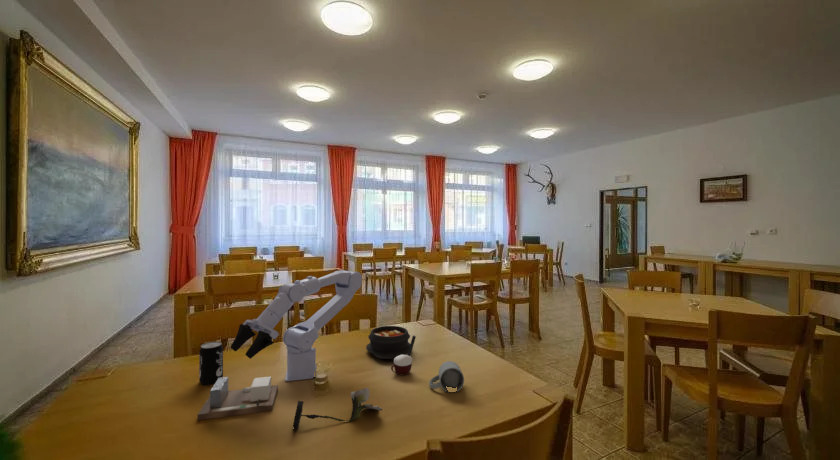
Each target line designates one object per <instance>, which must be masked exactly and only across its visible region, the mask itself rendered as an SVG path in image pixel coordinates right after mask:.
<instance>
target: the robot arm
mask: <svg viewBox="0 0 840 460" xmlns="http://www.w3.org/2000/svg"><path fill="white" fill-rule="evenodd" d="M334 284H335V285H334ZM362 284H363V276H362V274H361V273H360V272H359V271H350V270H344V269H340V270H334V272H331V273H329V274H326V275H323V276H321V277H318V278H317V277H316V276H313V275H309V276H306V278H303V279H301V280H299V279H297V280H294V282H293V283H292V282H286V283H284V284H283V285H280V286H279V288H278V293H277V294H276V295H275V297H274V299H273V300H272V301H271V302H270V303H269V305H268V306H267V307H266V308H265V309H264V310H263V311H262V312H261V313H260V315H259V316H258V317H257V318H253V319H246V320H245V321H244V322H243V323H240V324H239V325H238V327H239V328H238V330H237V333H236V336H235V338H234V339H233V342H232V343H231V345H230V350H232V351H234V352H237V351H238V350H239V349H241V347H242V346H243V345H244V344H245V343H247V341H249V340H250V339H251V338H253V337H255V336H256V337H255V339H254V340H253V342H252V344H250V346H249V348H248V349H247V351H246V352H245V354H244V355H245V356H246V357H247V358H248V359H252V358H254V357H255V356H256V355H257V354H258V353H260V352H261V351H262V350H264V349H266V348H268V347H270V346H272V345H273V344H274V343H275V341H273V340H276V339H277V337H279V335H280V333H279V332H278V331H277V330H275V329H274V328H275V327H276V326H277V324H278V323H279V322H280V321H281V320H282V318H283V317H284V316H285V315H286V313H288V311H289V310H290V309H291V308H292V307H293V305H294V304H295V303H299V302H301V301H302V300H304V297H308V296H310V295H313V294H316V293H318V292H319V291H320V289H321V288H323V287H326V286H330V285H331V286H332V285H334V286H335V287H334V288H335V293H336V294H335V295H334V296H333V297H332V298H331V299H329V301H328V302H327V303H325V304H324V305H323V306H322V307H321V308H319V309H318V310H317V311H316V312H315V313H314V314H312V316H311V317H309V318H308V319H307V320H305V321H302V322H299V323H297V324H295V325H294V326H291V327H289V328H287V329H286V330H284V331H285V332H284V333H283V336H282V341H283V344H284V346H286V360H287V361H286V363H287V364H286V365H287V366H286V367H287V368H286V374H285V378H284V381H285V382H291V381H301V380H310V379H314V378H313V377H314V372H315V373H316V371H317V368H318V366H317V363H316V359H317V355H316V351H317V350H316V347H313V346H314V343H315V342H316V340H317V339H318V338H319V331H320V330H322V328H323V327H324V326H325V325H327V324H328V322H330V321H331V320H332V319H333V318H334V317H335V316H336V315H337V314H338V313H339V312H340V311H342V310H343V308H345V307H346V306H347V305H348V304H349V303H350V302H351V301H352V299H353V298H354V295H355V294H356V292H357V291H358V290H359V289H360V288H361V287H362ZM254 331H255V332H257V334H256V333H255V332H254ZM315 370H316V371H315Z"/></svg>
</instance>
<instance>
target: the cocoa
mask: <svg viewBox="0 0 840 460" xmlns="http://www.w3.org/2000/svg"><path fill="white" fill-rule="evenodd" d="M416 337H417V335H412V338H411V341H410V347H409V351H408V354H407V355H399V356H397V357H395V358H394V359H393V365H392V366H391V368H390V370H391V371H392V372H393V373H394V374H398V375H399V374H403V375H402V376H405V375H404V374H406V375H408V374H409V373H410V371H411V369H412V366H413V364H412V363H413V358H412V357H411V354H412V351H413V348H414V345H415V341H416ZM407 373H408V374H407Z"/></svg>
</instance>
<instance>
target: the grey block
mask: <svg viewBox="0 0 840 460" xmlns="http://www.w3.org/2000/svg"><path fill="white" fill-rule="evenodd" d="M228 391H229V376H223V377H222V378H218V380H217V381H216V383H215V384H213V386H212V387H211V389H210V390H209V396H210V409H217V408H221V406H222V404H223V403H224V401H225V399H226V397H227V395H228Z"/></svg>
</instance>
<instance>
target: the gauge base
mask: <svg viewBox="0 0 840 460" xmlns="http://www.w3.org/2000/svg"><path fill="white" fill-rule="evenodd" d="M278 389H279V387H278V385H277V384H276V385H271V392H270V395H269V398H268V400H261V401H260V403H259V405H257V402H258V401H253V402H251V393H243V392H242V391H243V388H242V389H232V390H228V395H227V397H226V399H225V401H224V403H223V404H222V406H221V408H217V409H210V395H209V396H208V398H207V399H206V401H205V402H204V404H203V406H202V407H201V409H200V410H199V411H198V413H197V421H202V420H211V419H216V418H225V417H233V416H238V415H239V416H240V415H247V414H254V413H255V414H256V413H261V412H262V413H263V412H264V413H265V412H268V411H269V412H270V411H271V412H272V411H273V409H274V406H275V401H276V398H277V394H278Z"/></svg>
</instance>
